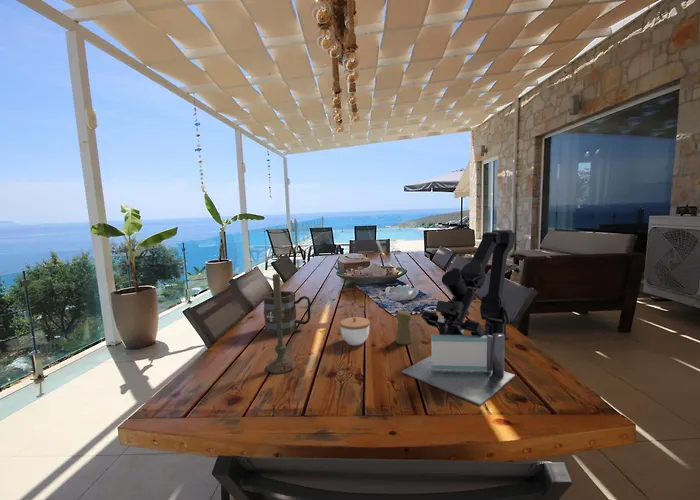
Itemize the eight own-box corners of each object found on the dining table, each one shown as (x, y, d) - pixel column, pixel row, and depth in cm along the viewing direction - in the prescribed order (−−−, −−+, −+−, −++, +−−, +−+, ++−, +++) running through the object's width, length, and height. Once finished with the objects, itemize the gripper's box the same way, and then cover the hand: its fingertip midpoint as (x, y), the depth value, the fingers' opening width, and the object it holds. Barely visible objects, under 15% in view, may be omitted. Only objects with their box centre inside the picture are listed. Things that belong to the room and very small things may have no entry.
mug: (260, 336, 131) (257, 299, 129) (268, 325, 144) (266, 291, 143) (310, 334, 131) (308, 297, 129) (313, 323, 144) (312, 289, 142)
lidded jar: (373, 338, 125) (372, 313, 124) (365, 349, 115) (364, 323, 114) (346, 335, 128) (345, 312, 127) (336, 346, 118) (335, 320, 117)
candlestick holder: (270, 376, 98) (264, 276, 94) (263, 364, 106) (257, 271, 102) (300, 369, 102) (295, 272, 98) (291, 358, 110) (286, 268, 107)
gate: (491, 368, 96) (491, 334, 95) (493, 371, 94) (493, 337, 93) (431, 366, 98) (431, 333, 97) (432, 369, 96) (431, 336, 95)
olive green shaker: (412, 344, 117) (411, 314, 116) (395, 344, 118) (394, 314, 117) (412, 338, 123) (412, 309, 122) (396, 337, 124) (395, 309, 123)
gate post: (515, 376, 92) (515, 334, 91) (480, 405, 79) (480, 357, 78) (440, 352, 110) (440, 317, 109) (401, 372, 97) (401, 333, 96)
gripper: (423, 285, 106) (402, 328, 100) (479, 294, 92) (459, 344, 86) (438, 304, 112) (419, 345, 106) (492, 315, 98) (474, 363, 92)
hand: (440, 348), depth 97 cm, fingers closed
